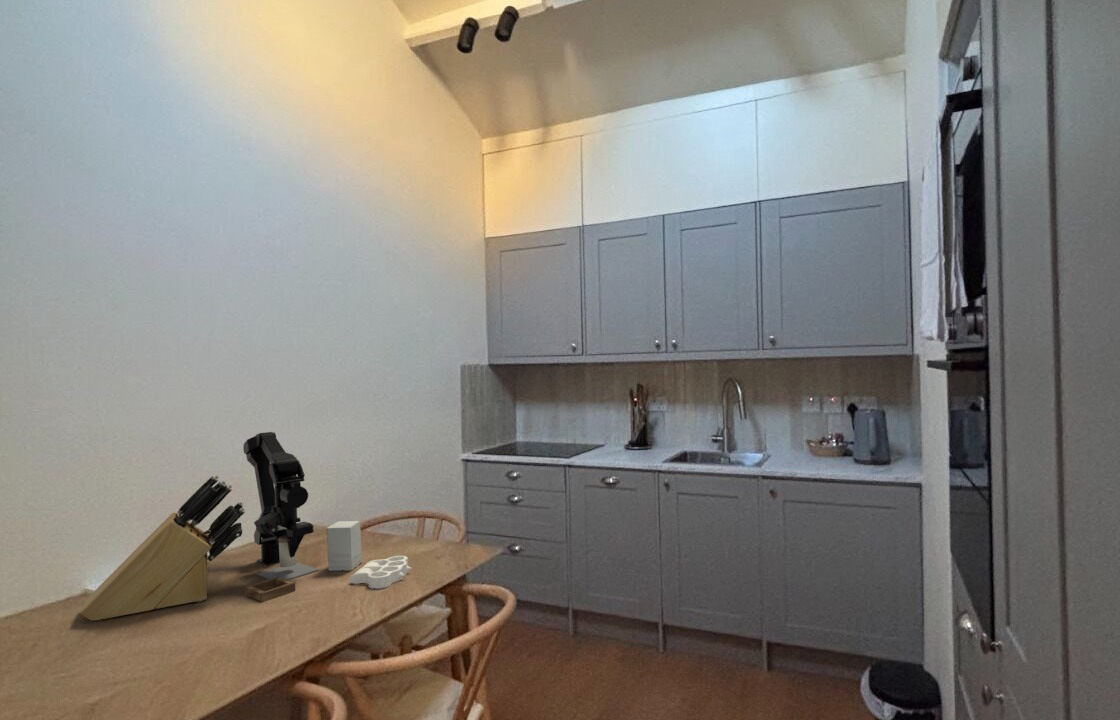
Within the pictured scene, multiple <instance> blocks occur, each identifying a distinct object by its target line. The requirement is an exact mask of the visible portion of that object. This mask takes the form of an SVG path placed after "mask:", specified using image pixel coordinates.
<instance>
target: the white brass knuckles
mask: <svg viewBox="0 0 1120 720" xmlns="http://www.w3.org/2000/svg"><path fill="white" fill-rule="evenodd" d="M412 569H413V567H410V566H409V558H408V557H407V556H406V555H394V556H390V557H388V558H384V559H372V560H370V561H368V562H367V563H365V565H363V566H362V567H361V568H358V570H357V571H356V572H354V573H353V574H351V575H350V576H349V577H348V578H349V579H348V581H349V582H350V583H351V584H352V585H354V584H353V583H367V584H366V585H368V584H369V585H368V588H370V589H374V588H375V589H384V588H387V587H388V588H389V587H391V585H392V584H393V583H397V582H400V581H401V580H402V579H403V577H406V575H408V572H409V571H411V570H412Z"/></svg>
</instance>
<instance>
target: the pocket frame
mask: <svg viewBox="0 0 1120 720" xmlns="http://www.w3.org/2000/svg"><path fill="white" fill-rule="evenodd" d="M244 590H245V596H248V597H251V598H252V599H255V600H258V601H260V602H265V601H269V600H271V599H275V598H277V597H281V596H283V595H286V594H289V593H292V592H295V591H296V582H293V581H291V580H285V579H282V578H280V577H276V578H273V579H266V580H264V581H260V582H257V583H254V584H251V585H247V586H245V588H244Z"/></svg>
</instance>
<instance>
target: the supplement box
mask: <svg viewBox="0 0 1120 720" xmlns="http://www.w3.org/2000/svg"><path fill="white" fill-rule="evenodd" d="M361 531H362V530H361V521H360V520H353V521H352V520H351V521H350V520H349V521H347V520H345V521H341V520H340V521H339V520H338V521H336V522H334V523H333V524H331V525H329V526H328V527H326V541H327V562H328V563H327V564H328V566H327V567H328V571H330V572H331V571H332V572H333V571H341V572H342V570H343V571H353V570H354V569H356V568H357V567H358V566H359V564H360V563H361V564H362V563H363V557H362V556H363V555H362V534H361V533H362V532H361ZM361 564H360V565H361ZM355 567H356V568H355Z"/></svg>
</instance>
